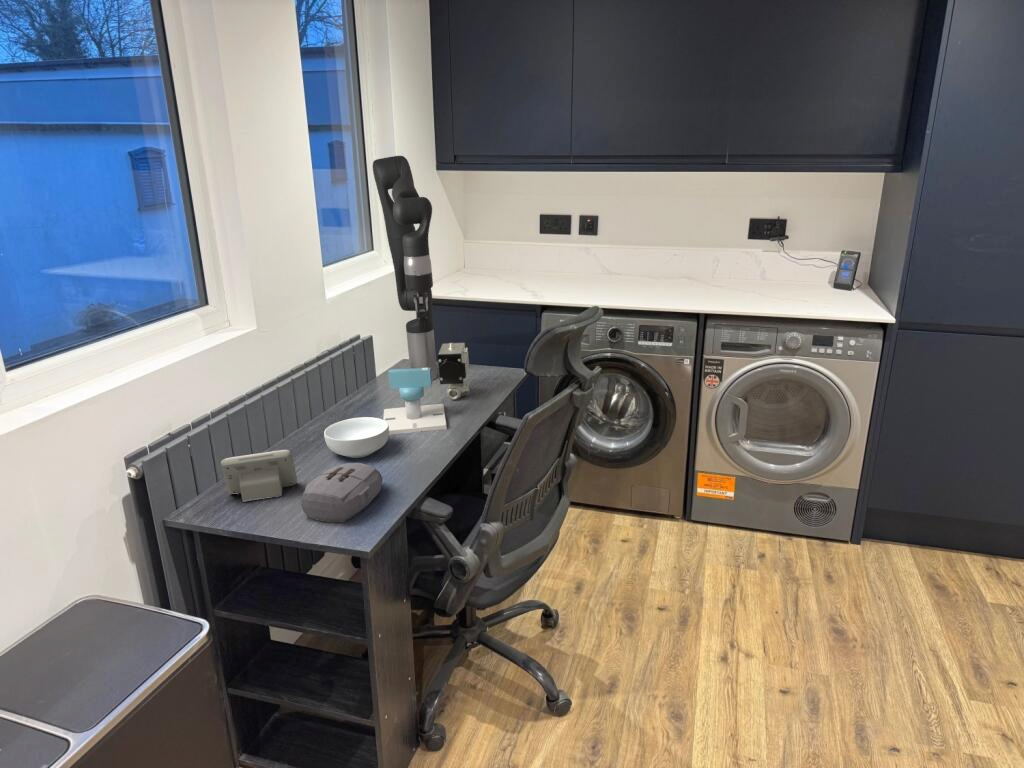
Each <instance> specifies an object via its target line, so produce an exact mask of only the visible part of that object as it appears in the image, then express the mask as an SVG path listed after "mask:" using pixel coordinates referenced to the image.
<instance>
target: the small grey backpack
mask: <svg viewBox="0 0 1024 768" xmlns="http://www.w3.org/2000/svg"><path fill="white" fill-rule="evenodd" d="M382 484H383V476H382V474H381V471H379V470H378V468H376V467H374V466H372V465H369V464H364V463H361V462H347V463H343V464H339V465H336V466H333V467H330V468H328V469H327V470H325V471H323V472H322V473H321V474H319V476H318V477H316V478H314V479H312V481H310V482H309V483H308V484H306V486H305V490H304V491H303V494H302V496H301V499H300V500H301V501H300V502H301V503H300V506H301V509H302V511H303V514H305V515H306V517H308V518H310V519H312V518H313V520H315V519H318V520H317V521H320V520H323V521H322V522H326V521H329V522H330V523H336V522H337V523H344V522H346V521H347V520H350V519H351V518H353V517H355V516H356V515H358V514H359V513H360V512H361V511H362V510H365V508H367V507H368V506H369V505H370V504H371V502H372V501H373V500H374V499H375V498H376V497H377V495H378V494H379V493H380V491H381V490H382ZM329 522H328V523H329Z"/></svg>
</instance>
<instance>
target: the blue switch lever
mask: <svg viewBox="0 0 1024 768" xmlns="http://www.w3.org/2000/svg"><path fill="white" fill-rule="evenodd" d="M387 372H388V373H387V375H388V383H389V389H398V391H399V392H398V393H399V397H400V399H401V400H404V401H405V400H415V399H419V398H420V399H422V398H423V397H424V396H425V392H424V388H429V387H430V388H431V387H432V385H433V380H432V377H431V368H413V369H410V368H398V369H397V368H395V369H394V368H393V369H392V368H391V369H389V370H388V371H387Z"/></svg>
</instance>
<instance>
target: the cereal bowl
mask: <svg viewBox="0 0 1024 768" xmlns="http://www.w3.org/2000/svg"><path fill="white" fill-rule="evenodd" d="M323 436H324V440H325V444H326V445H327V448H328V449H330V450H331V451H332V452H333V453H334V454H336V455H340V456H344V457H347V458H350V459H361V458H364V457H365V458H366V457H368V456H370V455H372V454H373V453H374V452H376V451H379V449H381V448H383V446H385V444H386V443H387V441H388V439H389V436H390V435H389V425H388V423H387V422H386V421H385V420H383V419H382V418H379V417H372V416H371V417H369V416H365V417H364V416H361V417H352V418H348V419H343V420H341V421H336V422H335V423H332V424H330V425H329V426H328V427H326V428H325V430H324V432H323Z"/></svg>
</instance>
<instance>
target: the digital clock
mask: <svg viewBox="0 0 1024 768" xmlns="http://www.w3.org/2000/svg"><path fill="white" fill-rule="evenodd" d="M220 467H221V470H222V473H223V474H222V475H223V477H224V478H223V479H224V482H225V484H226V485H225V486H226V488H227V491H228V493H229V494H230V493H240V492H241V494H240V495H241V501H242V500H249V499H257V498H266V497H276V498H278V497H277V496H283V488H287V487H292V486H294V485H296V484H297V481H298V476H297V472H296V467H295V462H294V457H293V454H292V451H291V450H290V449H289V450H288V449H280V450H273V451H266V452H258V453H251V454H246V455H239V456H232V457H231V456H230V457H226V458H224V459H222V460H220Z"/></svg>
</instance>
